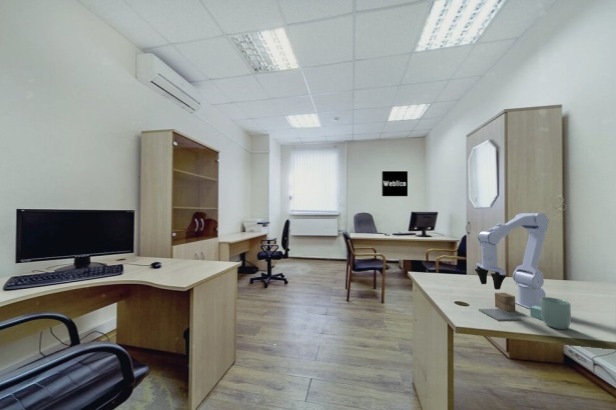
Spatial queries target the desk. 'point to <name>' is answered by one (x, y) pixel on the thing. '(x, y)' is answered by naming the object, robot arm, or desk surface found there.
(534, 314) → the teal block
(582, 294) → the desk surface
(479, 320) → the desk surface
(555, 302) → the cup
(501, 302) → the walnut block
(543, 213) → the robot arm
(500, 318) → the slate coaster
